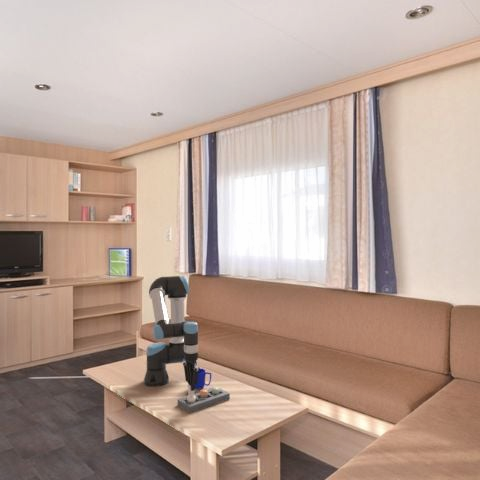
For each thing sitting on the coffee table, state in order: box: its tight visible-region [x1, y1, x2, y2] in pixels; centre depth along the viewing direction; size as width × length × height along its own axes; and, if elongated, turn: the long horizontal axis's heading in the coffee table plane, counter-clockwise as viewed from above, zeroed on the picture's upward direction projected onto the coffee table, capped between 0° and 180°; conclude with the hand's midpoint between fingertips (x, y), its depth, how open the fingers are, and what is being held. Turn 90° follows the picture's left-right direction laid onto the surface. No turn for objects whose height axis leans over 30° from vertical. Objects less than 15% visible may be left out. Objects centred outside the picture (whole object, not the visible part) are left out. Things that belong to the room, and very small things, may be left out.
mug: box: [194, 368, 212, 390], centre depth 231 cm, size 8×12×10 cm
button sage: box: [211, 386, 221, 395], centre depth 217 cm, size 4×4×3 cm
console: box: [177, 388, 231, 413], centre depth 212 cm, size 12×26×3 cm, turn 130°
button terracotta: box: [199, 388, 209, 398], centre depth 212 cm, size 4×4×3 cm
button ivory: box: [186, 394, 196, 404], centre depth 207 cm, size 4×4×3 cm
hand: (191, 395), depth 207 cm, fingers closed
